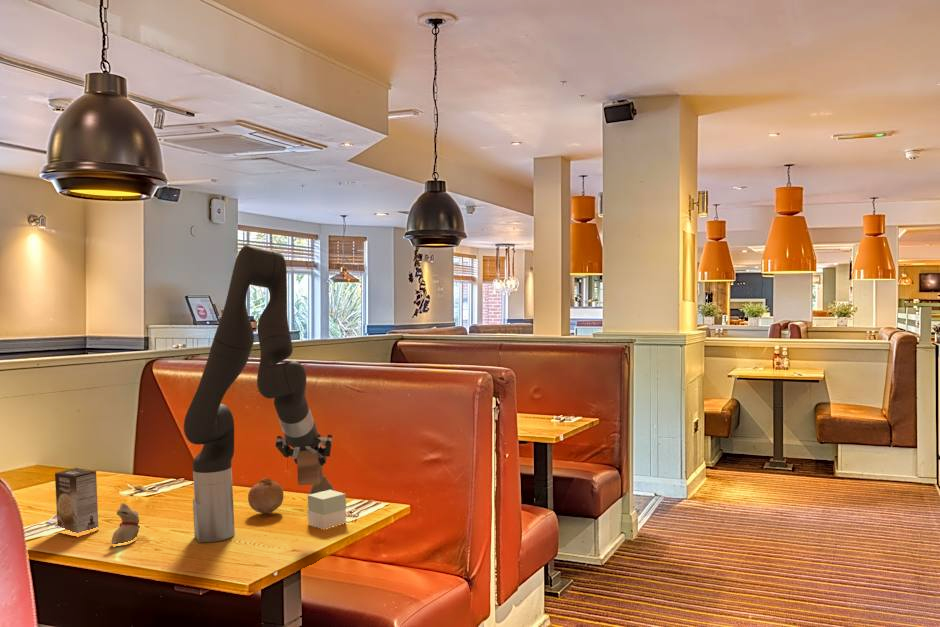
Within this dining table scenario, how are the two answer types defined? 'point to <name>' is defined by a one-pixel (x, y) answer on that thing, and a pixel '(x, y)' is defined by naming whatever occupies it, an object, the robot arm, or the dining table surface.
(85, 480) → the coffee box
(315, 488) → the vase
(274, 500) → the onion
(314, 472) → the column
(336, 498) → the tower mid
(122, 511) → the chocolate bunny
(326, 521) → the tower base
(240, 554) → the dining table surface
